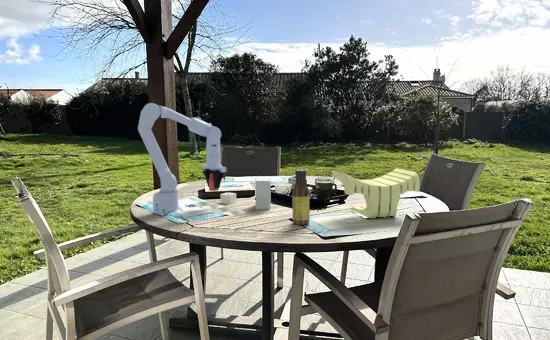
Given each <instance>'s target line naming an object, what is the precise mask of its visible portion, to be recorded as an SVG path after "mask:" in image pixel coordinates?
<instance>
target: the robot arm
mask: <svg viewBox="0 0 550 340" xmlns="http://www.w3.org/2000/svg"><path fill="white" fill-rule="evenodd" d="M159 117H160V118H161V119H167V118H168V119H170V120H173V121H175V122H177V123H180V124H183V125H185V126H187V129H188V130H189V131H190V132H192V133H195V134H197V135H199V136H201V137H205V138H206V146H205V148H206V152H205V153H206V163H203V164H201V169H202V174H203V176H204V178H205V181H206V184H207V188H209V178H210V174H212V176H213V180H214V188H215V189H217V188H219V189H220V187H221V184H222V180H223V177H224V176H225V173H227V167H226V166H223V165H222V164H221V137H222V131H221V130H220V128H218V126H214V125H212V123H211V122H209V123H208V122H206V121H204V120H202V118H201V117H192V118H190V117H187V116H185V115H183V114H181V113H179V112H177V111H176V110H173V109H172V108H169V107H166V106H162V105H158V104H157V103H154V102H153V103H152V102H149V103H146V104H145V105H144V107H143V108H142V110H141V111H140V115H139V120H138V125H137V131H138V133H139V135H140V137H141V139H142V141H143V144H144V145H145V148H146V150H147V151H148V154H149V157H150V159H151V161H152V163H153V165H154V168H155V170H156V171H157V174H158V176H159V179H160V188H159V191H158V192H154V193H153V195H152V204H153V205H152V206H153V207H152V208H153V211H152V213H153V214H156V215H159V216H162V217H163V216H167V215H169V213H172V212H177V211H179V189H178V188H177V187H178V180H177V178H176V176H175V174H174V173H172V172H171V170H170V168H169V165H168V164H167V161H166V159H165V158H164V155H163V153H162V151H161V148H160V146H159V144H158V142H157V140H156V137H155V135H154V133H153V130H152V129H153V126H154V124H155V122H156V120H157V119H159Z"/></svg>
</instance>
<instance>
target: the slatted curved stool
mask: <svg viewBox="0 0 550 340" xmlns="http://www.w3.org/2000/svg"><path fill="white" fill-rule="evenodd" d="M332 177H333V178H335V179H337V180H338V181H340V182H341V183H342V186H343V189H344V194H345V195H348V196H352V195H355V194H357V195H359V194H360V195H363V198H364V200H365V203H366V204H365V205H360V206H357V205H355V206H351V208H350V210H352V211H355V212H357V213H360V214H362V215H364V216H366V217H368V218H370V219H377V218H376V217H384V218H391V217H390V216H395V217H396V216H397V212H398V211H397V210H398V205H399V202H400V200H401V195H404V194H405V193H408V192H416V193H417V192H418V193H419V192H420V186H421V185H420V184H421V183H420V182H421V179H420V176H419V174H418V173H417V172H415V171H411V170H407V169H403V168H399V167H397V168H394V169H393V170H392V171H390V172H388V173H386V174H384V175H381V176H380V177H375V178H371V179H357V178H355V177H353V176H351V175H349V174H347V173H344V172H340V171H337V170H334V169H333V170H332ZM387 216H388V217H387Z"/></svg>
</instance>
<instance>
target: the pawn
mask: <svg viewBox="0 0 550 340" xmlns="http://www.w3.org/2000/svg"><path fill="white" fill-rule="evenodd" d="M219 190H220V187H219V188H217V189H215V188H214V180H213V176H212V174H210V178H209V187H208V191H211V192H215V191H216V192H217V191H219Z"/></svg>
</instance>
